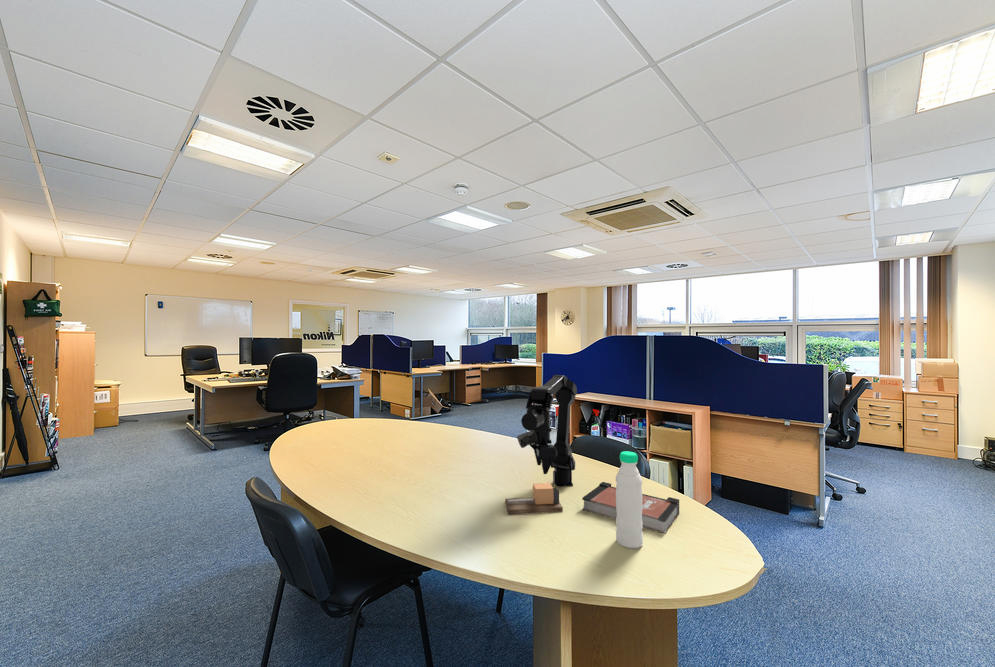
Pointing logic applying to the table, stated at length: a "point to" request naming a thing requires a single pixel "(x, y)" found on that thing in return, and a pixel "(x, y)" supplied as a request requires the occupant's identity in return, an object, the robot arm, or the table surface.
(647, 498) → the book
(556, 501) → the guide rail
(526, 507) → the board
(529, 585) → the table surface
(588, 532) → the table surface
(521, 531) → the table surface
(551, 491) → the block
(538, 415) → the robot arm
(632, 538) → the water bottle
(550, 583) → the table surface
